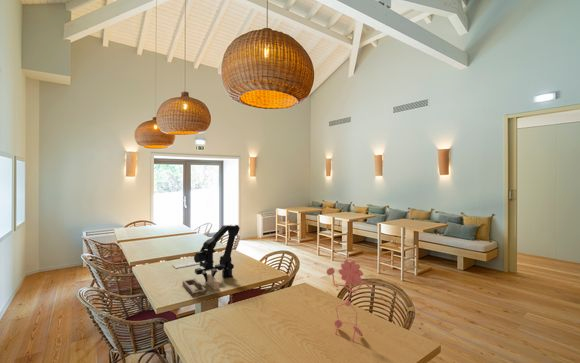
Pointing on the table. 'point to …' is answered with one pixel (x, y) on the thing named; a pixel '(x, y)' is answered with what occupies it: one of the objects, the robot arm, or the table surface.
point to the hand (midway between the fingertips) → (209, 281)
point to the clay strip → (212, 282)
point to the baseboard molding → (186, 264)
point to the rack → (192, 292)
